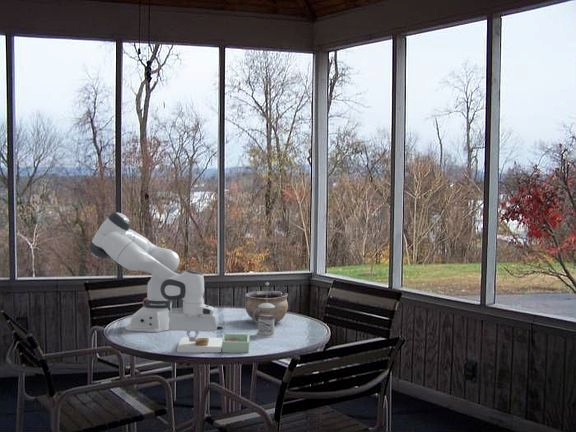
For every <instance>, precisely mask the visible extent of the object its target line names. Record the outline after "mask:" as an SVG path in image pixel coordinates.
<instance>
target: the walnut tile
mask: <svg viewBox="0 0 576 432" xmlns="http://www.w3.org/2000/svg"><path fill="white" fill-rule="evenodd" d="M227 341H228V342H239V339H227Z"/></svg>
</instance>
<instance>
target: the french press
mask: <svg viewBox="0 0 576 432" xmlns="http://www.w3.org/2000/svg"><path fill="white" fill-rule="evenodd" d="M264 285H265V286H269V285H270V283H269V282H265V283H264ZM258 307H259V308H262V309H266V314H264V313H263V314H259V316H260V317H259V318H258V322H256V320H255V321H254V320H253V319H252V321H253V322H255V324H256V325H257V333H256V334H255V337H257V338H260V339H261V338H262V339H272V338H273V339H274V338H276V337H277V334H276V333H275V323H274V318H273V316H274V315H273V314H269V313H268V314H267V309H273V308H275V306H274V305H273V304H270V303H263V304H260V305H259V306H258ZM259 308H258V309H259ZM256 310H257V309H256ZM256 310H255V311H256ZM259 311H260V309H259V310H258V312H259ZM253 313H254V314H255V312H253ZM254 319H255V317H254ZM264 319H270V320H264Z"/></svg>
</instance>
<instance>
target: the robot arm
mask: <svg viewBox="0 0 576 432" xmlns="http://www.w3.org/2000/svg"><path fill="white" fill-rule="evenodd" d="M88 250H89V251H90V253H91V254H92V255H93V256H94V257H95V258H98V259H101V260H106V259H108V258H111V259H113V261H115V262H116V263H118V265H120V266H121V267H123V268H124V269H127V270H129V271H135V272H145V273H148V274H151V277H150V280H148V282H147V290H146V291H147V297H145V298H143V300H142V307H141V308H140V309H138V310H137V311H136V312H135V313H133V314H132V316H131V318H130V323H128V324H126V326H125V330H126V331H131V332H132V331H133V332H145V333H159V332H163V331H173V332H174V331H177V332H179V331H180V332H186V335H187V337H189V341H192V342H196V337H198V336H199V334H200V332H211V333H212V332H213V333H214V332H216V331H217V329H218V321H217V315H216V314H215V307H214V306H211V305H207V304H205V299H204V293H205V279H204V274H203V273H202V272H201V271H198V270H194V269H186V270H185V271H184V272H182V273H180V272H177V271H176V270H177V269H178V267H179V265H180V255H178V253H177V252H176V251H174V250H172V249H170V248H165V247H161V246H158V245H155V244H154V243H152V242H151V241H150V240H149V239H148V238H147V237H145V236H143V235H142V234H140V233H138V232H137V231H135V230H133V229H131V221H130V219H129V218H128V216H126V215H125V214H124V213H121V212H118V211H114V212H112V213H110V214H109V215H108V216H107V218H106V219H105V220H104V221H103V223H101V225H100V226H99V228H98V230H97V231H96V233H95V234H94V236H93V238H92V240H90V242H89V244H88ZM176 300H182V307H180V308H175V307H174V308H172V307H173V306H172V304H173V303H172V302H173V301H176ZM191 332H194V334H195V335H194V336H191Z"/></svg>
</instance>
